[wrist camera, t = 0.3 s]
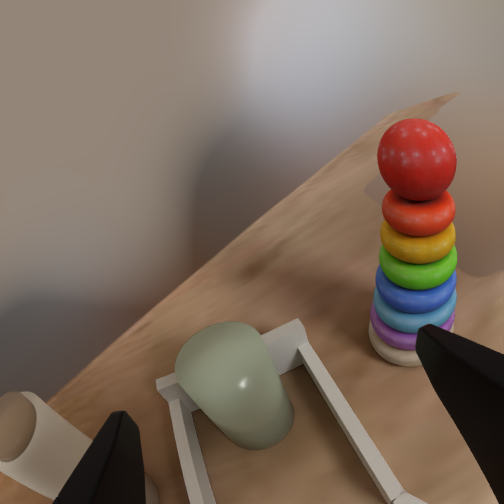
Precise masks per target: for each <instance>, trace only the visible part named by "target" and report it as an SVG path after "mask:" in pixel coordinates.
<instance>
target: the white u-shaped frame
mask: <svg viewBox="0 0 504 504" xmlns="http://www.w3.org/2000/svg"><path fill="white" fill-rule="evenodd" d="M261 337H262V339H263V341H264V343H265V346H266V348H267V350H268V352H269V355H270V357H271V359H272V361H273V364H274V366H275V368H276V370H277V372H278V375H281V374H283V373H285V372H287V371H289V370H292V369H294V368H296V367H298V366H300V365H302V364H304V366H305V368H306V369H307V371H308V373H309V374H310V376H311V378H312V380H313V381H314V383H315V385H316V386H317V388H318V390H319V391H320V393H321V395H322V396H323V398H324V400H325V402H326V403H327V405H328V407H329V408H330V410H331V412H332V413H333V415H334V417H335V418H336V420H337V422H338V423H339V425H340V427H341V428H342V430H343V432H344V433H345V435H346V437H347V438H348V440H349V442H350V443H351V445H352V447H353V448H354V450H355V452H356V453H357V455H358V457H359V458H360V460H361V462H362V463H363V465H364V467H365V468H366V470H367V472H368V473H369V475H370V477H371V478H372V480H373V482H374V483H375V485H376V486H377V488H378V490H379V491H380V493H381V495H382V496H383V498H384V500H385V501H386V503H387V504H428V503H426V502H424V501H422V500H420V499H418V498H416V497H414V496H412V495H411V494H409V493H407V492H405V491H404V489H403V488H402V486H401V485H400V483H399V482H398V480H397V479H396V477H395V476H394V474H393V472H392V471H391V469H390V468H389V466H388V465H387V463H386V462H385V460H384V458H383V457H382V455H381V454H380V452H379V451H378V449H377V448H376V446H375V445H374V443H373V441H372V440H371V438H370V437H369V435H368V434H367V432H366V431H365V429H364V428H363V426H362V424H361V423H360V421H359V420H358V418H357V417H356V415H355V414H354V412H353V410H352V409H351V407H350V406H349V404H348V403H347V401H346V400H345V398H344V396H343V395H342V393H341V392H340V390H339V389H338V387H337V386H336V384H335V383H334V381H333V379H332V378H331V376H330V375H329V373H328V372H327V370H326V369H325V367H324V365H323V364H322V362H321V361H320V359H319V358H318V356H317V355H316V353H315V351H314V350H313V348H312V347H311V345H310V344H309V342H308V339H307V335H306V332H305V328H304V326H303V325H302V323H301V322H300V320H299V319H298V318H297V319H295V320H293V321H291V322H289V323H286V324H284V325H282V326H280V327H278V328H276V329H274V330H272V331H269V332H267V333H265V334H263V335H261ZM156 387H157V391H158V392H159V393H160V394H161V395H162V396H163V397H164V398H165V399H166V400H167V401H168V402H169V408H170V414H171V419H172V425H173V430H174V435H175V440H176V445H177V450H178V454H179V459H180V463H181V468H182V472H183V476H184V481H185V485H186V489H187V493H188V497H189V501H190V504H216V502H215V498H214V495H213V492H212V488H211V485H210V482H209V478H208V475H207V471H206V468H205V464H204V460H203V457H202V453H201V449H200V445H199V441H198V438H197V434H196V430H195V425H194V421H193V417H192V413H191V412H192V411H195V410H198V409H200V407H199V406H198V405H197V404H196V403H195V402H194V401H193V400H192V399H191V397H190V396H189V395H188V394H187V393H186V392H185V391H184V389H183V388H182V387H181V386H180V384H179V383H178V381H177V379H176V376H175V372H174V373H172V374H169V375H166V376H164V377H161V378H159V379H156Z"/></svg>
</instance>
